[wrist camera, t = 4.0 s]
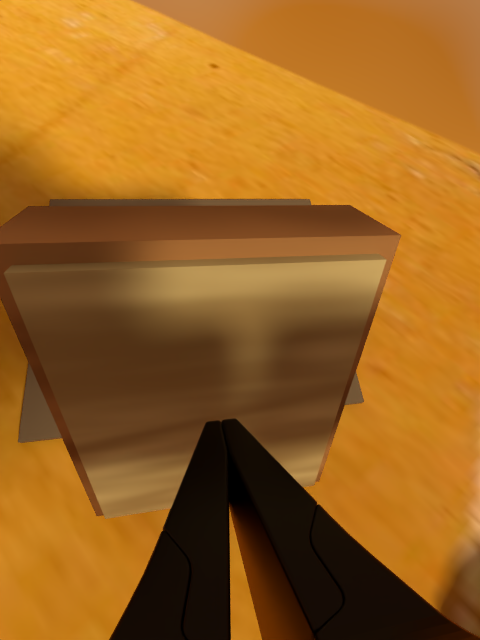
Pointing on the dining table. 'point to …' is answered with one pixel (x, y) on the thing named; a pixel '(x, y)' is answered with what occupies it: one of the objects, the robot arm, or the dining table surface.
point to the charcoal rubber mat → (35, 409)
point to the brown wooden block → (191, 331)
